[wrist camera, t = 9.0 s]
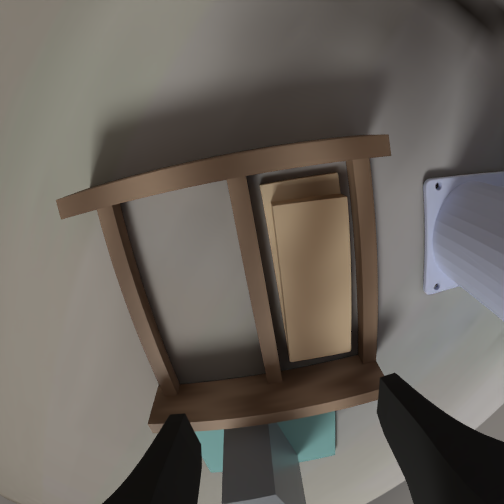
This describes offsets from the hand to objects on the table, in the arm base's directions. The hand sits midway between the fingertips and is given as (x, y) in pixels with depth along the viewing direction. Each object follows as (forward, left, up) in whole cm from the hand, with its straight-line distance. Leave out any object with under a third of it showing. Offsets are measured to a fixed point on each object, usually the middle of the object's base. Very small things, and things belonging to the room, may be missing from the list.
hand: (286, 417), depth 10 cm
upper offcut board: (-3, -1, -9) cm, 10 cm away
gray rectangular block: (+2, +13, -9) cm, 16 cm away
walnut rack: (+1, -1, -10) cm, 10 cm away
